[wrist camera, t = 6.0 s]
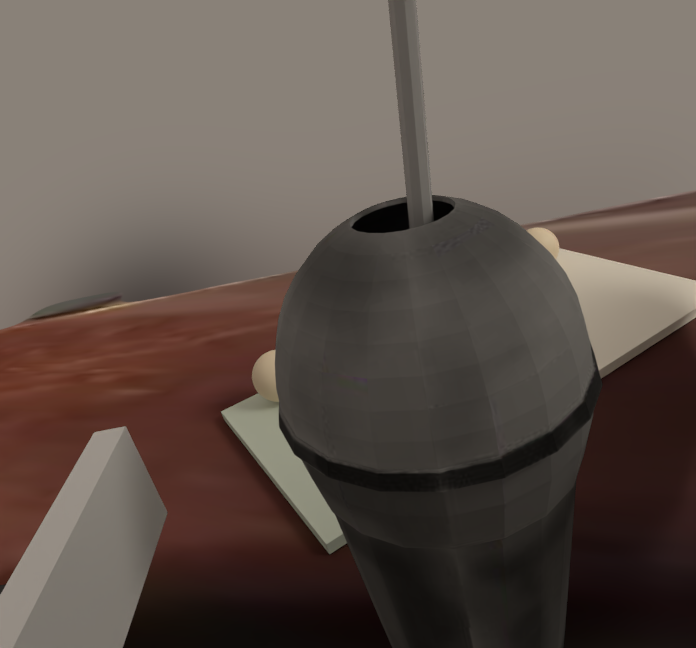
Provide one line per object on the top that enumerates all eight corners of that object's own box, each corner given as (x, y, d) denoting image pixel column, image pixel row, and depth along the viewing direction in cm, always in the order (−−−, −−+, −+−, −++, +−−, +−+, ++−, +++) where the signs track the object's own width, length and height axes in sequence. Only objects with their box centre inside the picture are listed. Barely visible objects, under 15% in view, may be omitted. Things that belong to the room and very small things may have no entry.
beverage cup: (325, 707, 19) (54, 23, 10) (444, 547, 23) (335, -23, 14) (544, 882, 14) (411, -131, 5) (641, 638, 18) (662, -126, 10)
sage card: (399, 331, 40) (389, 284, 38) (550, 411, 29) (546, 350, 27) (223, 419, 35) (204, 369, 33) (329, 554, 24) (308, 490, 22)
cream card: (553, 254, 45) (551, 209, 44) (726, 297, 35) (732, 241, 33) (422, 320, 40) (414, 273, 39) (577, 393, 30) (575, 333, 28)
